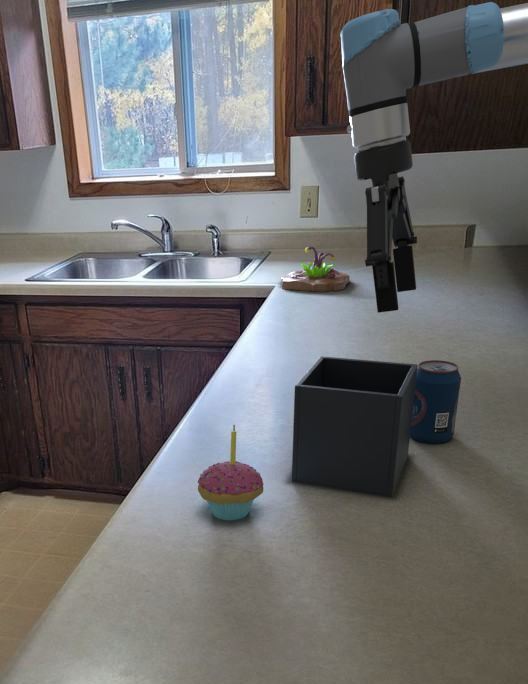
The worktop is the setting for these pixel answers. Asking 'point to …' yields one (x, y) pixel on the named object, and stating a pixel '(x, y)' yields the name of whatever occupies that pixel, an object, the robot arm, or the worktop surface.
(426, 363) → the soda can
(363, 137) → the robot arm
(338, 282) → the plant
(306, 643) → the worktop surface
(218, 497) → the cupcake
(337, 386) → the open dark gray box
